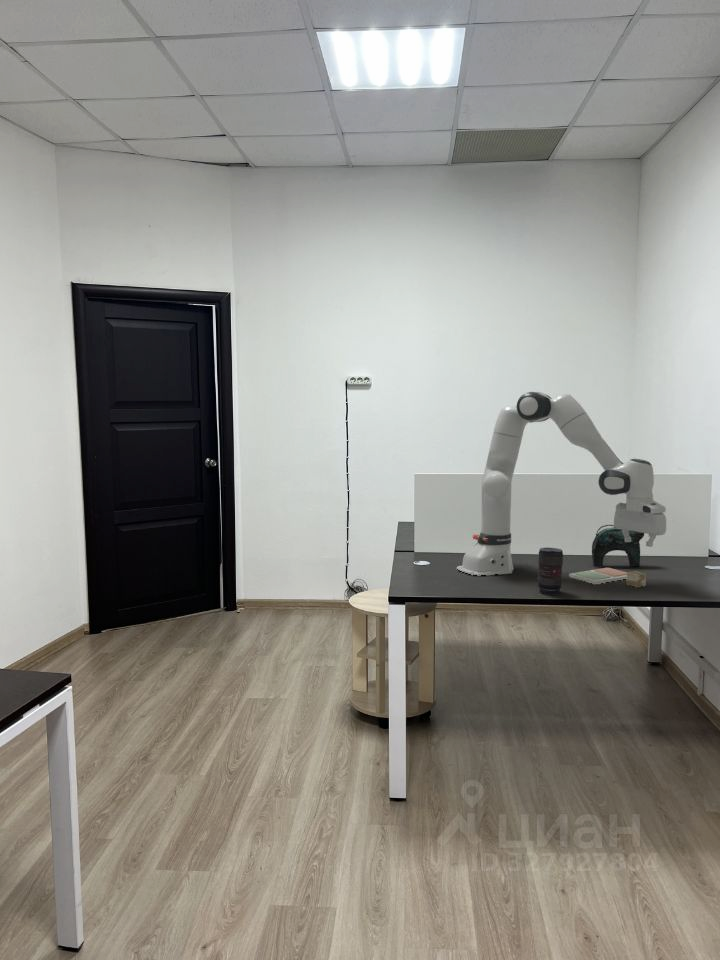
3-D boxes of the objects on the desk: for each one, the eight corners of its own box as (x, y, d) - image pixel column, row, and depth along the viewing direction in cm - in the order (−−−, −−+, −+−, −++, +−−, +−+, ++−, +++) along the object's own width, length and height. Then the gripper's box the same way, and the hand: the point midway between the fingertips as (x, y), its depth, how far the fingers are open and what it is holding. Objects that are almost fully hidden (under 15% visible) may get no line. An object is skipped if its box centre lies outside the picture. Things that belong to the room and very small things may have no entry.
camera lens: (565, 594, 247) (566, 551, 245) (542, 595, 246) (543, 552, 244) (557, 588, 255) (558, 546, 253) (534, 589, 254) (535, 547, 252)
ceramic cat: (639, 564, 291) (641, 515, 288) (645, 568, 284) (647, 517, 282) (589, 564, 291) (591, 515, 289) (594, 568, 285) (596, 517, 282)
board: (595, 584, 260) (595, 580, 259) (569, 576, 271) (569, 572, 271) (634, 578, 269) (635, 573, 269) (607, 570, 280) (608, 566, 280)
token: (636, 587, 256) (637, 575, 255) (626, 585, 260) (626, 572, 259) (645, 586, 258) (646, 573, 257) (635, 583, 262) (635, 571, 261)
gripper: (610, 502, 263) (609, 540, 265) (657, 509, 245) (655, 550, 247) (622, 501, 266) (621, 538, 268) (669, 508, 248) (668, 547, 250)
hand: (638, 544), depth 257 cm, fingers open, 8 cm apart
